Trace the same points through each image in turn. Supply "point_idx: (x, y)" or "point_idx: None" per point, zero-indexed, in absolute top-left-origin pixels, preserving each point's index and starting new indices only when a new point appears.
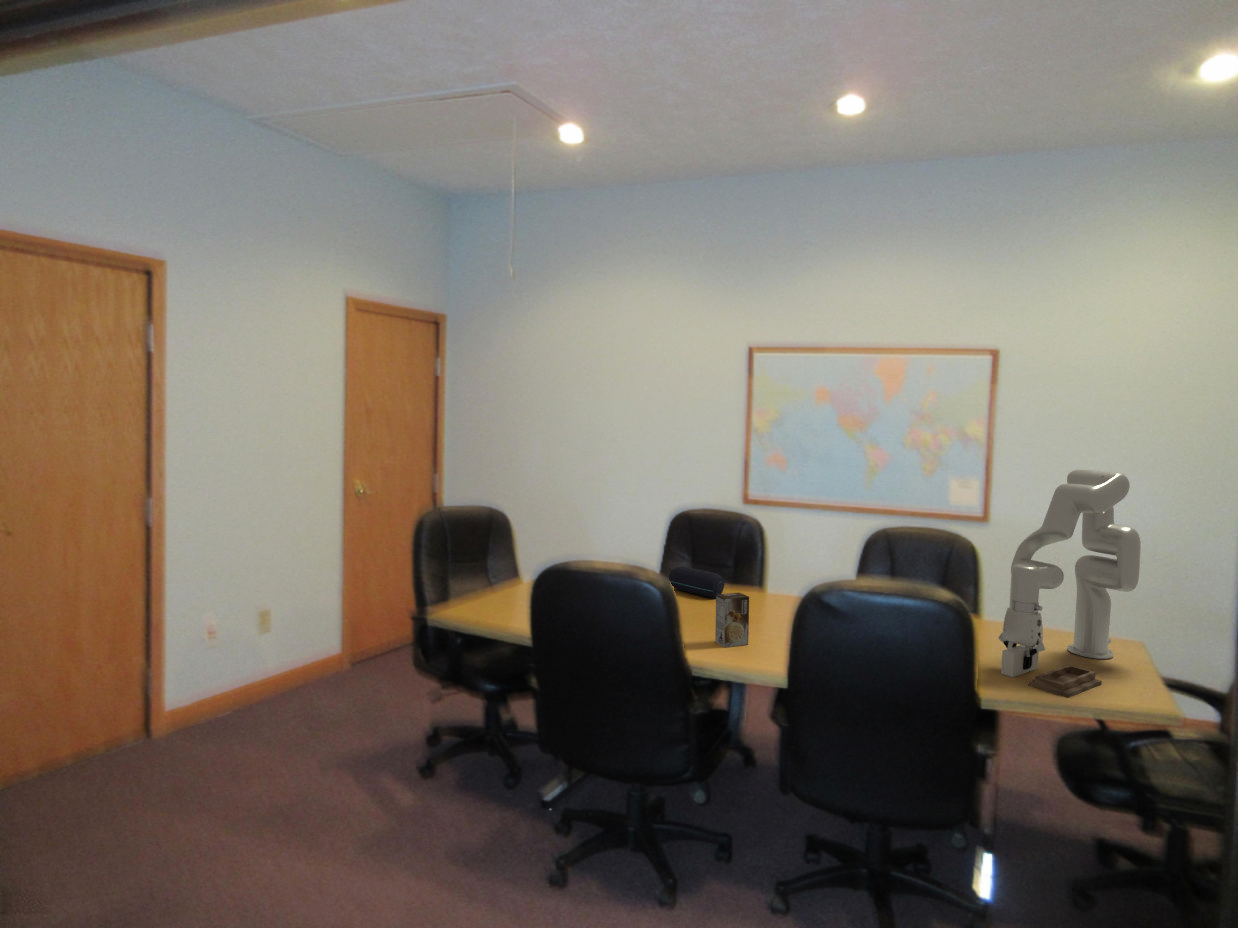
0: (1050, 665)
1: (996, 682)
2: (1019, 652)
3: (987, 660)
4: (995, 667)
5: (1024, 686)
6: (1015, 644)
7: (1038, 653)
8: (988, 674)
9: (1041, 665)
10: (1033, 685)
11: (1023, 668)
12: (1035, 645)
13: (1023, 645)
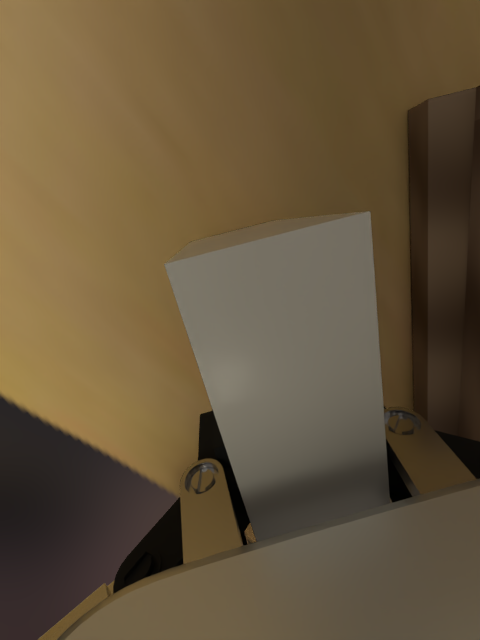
0: (253, 11)
1: None
2: None
3: (44, 415)
4: (174, 453)
5: None
6: (233, 538)
7: (316, 216)
8: (248, 536)
9: (228, 109)
10: None
11: None
12: (322, 247)
13: (252, 423)
